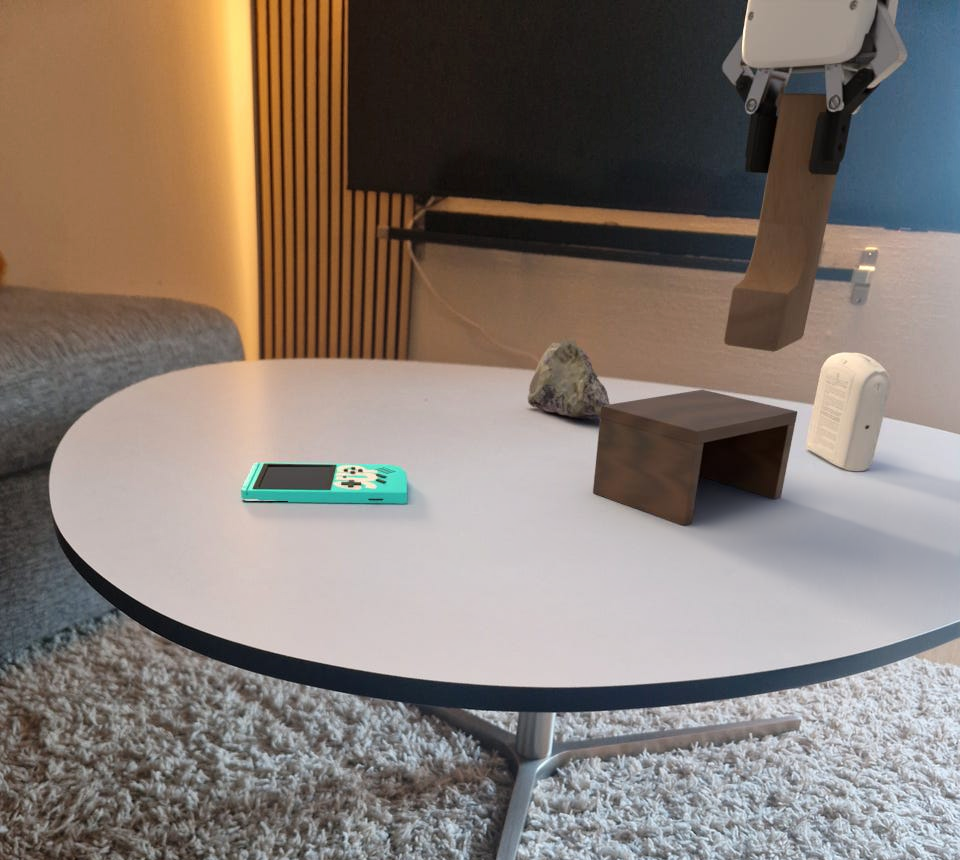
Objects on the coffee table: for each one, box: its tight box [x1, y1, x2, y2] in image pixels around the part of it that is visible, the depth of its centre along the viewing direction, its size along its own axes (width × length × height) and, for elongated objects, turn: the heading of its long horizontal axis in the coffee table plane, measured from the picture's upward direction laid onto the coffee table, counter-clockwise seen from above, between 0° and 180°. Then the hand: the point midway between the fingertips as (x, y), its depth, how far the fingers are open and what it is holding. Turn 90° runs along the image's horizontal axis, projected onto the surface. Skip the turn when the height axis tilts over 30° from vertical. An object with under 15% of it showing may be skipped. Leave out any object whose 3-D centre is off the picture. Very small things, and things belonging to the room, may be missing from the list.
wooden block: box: [723, 92, 838, 353], centre depth 73 cm, size 9×4×18 cm, turn 150°
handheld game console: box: [240, 461, 408, 505], centre depth 94 cm, size 10×16×1 cm, turn 95°
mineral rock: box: [527, 338, 611, 420], centre depth 124 cm, size 13×11×10 cm
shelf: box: [592, 389, 798, 526], centre depth 94 cm, size 12×16×9 cm
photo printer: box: [805, 352, 892, 472], centre depth 109 cm, size 10×4×12 cm, turn 10°
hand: (790, 170), depth 72 cm, fingers closed on wooden block, 4 cm apart
